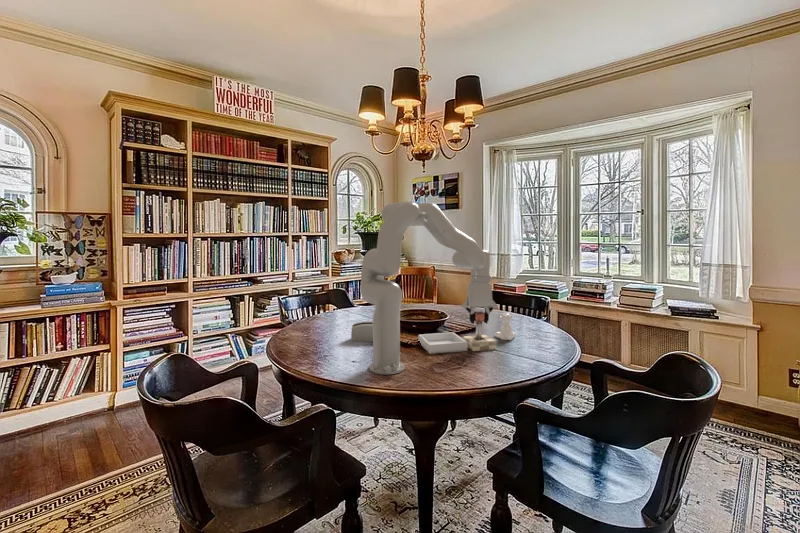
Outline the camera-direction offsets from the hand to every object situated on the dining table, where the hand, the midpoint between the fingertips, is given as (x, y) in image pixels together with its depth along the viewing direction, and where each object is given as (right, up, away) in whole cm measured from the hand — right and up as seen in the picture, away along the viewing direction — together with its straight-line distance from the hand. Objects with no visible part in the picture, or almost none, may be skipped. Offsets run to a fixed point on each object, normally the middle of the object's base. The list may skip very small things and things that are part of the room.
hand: (479, 322), depth 166 cm
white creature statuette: (+15, -9, +13) cm, 22 cm away
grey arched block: (-47, -10, +12) cm, 49 cm away
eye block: (0, -10, +1) cm, 10 cm away
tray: (-15, -10, +1) cm, 19 cm away
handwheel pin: (0, -8, +1) cm, 8 cm away
